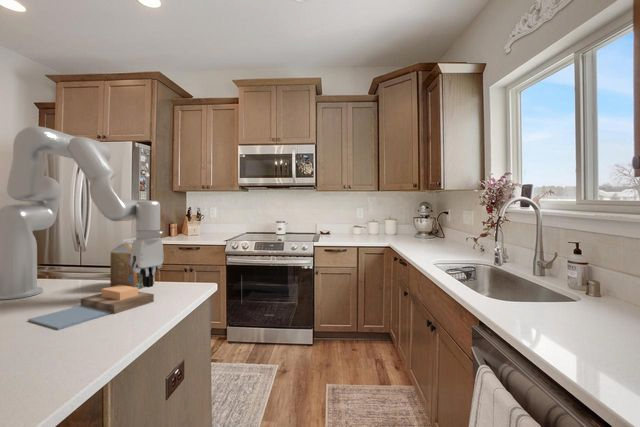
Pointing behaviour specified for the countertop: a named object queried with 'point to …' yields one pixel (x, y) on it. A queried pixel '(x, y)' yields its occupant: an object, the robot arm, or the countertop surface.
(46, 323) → the mat
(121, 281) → the milk carton
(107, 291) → the tile
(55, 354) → the countertop surface
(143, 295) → the stand
